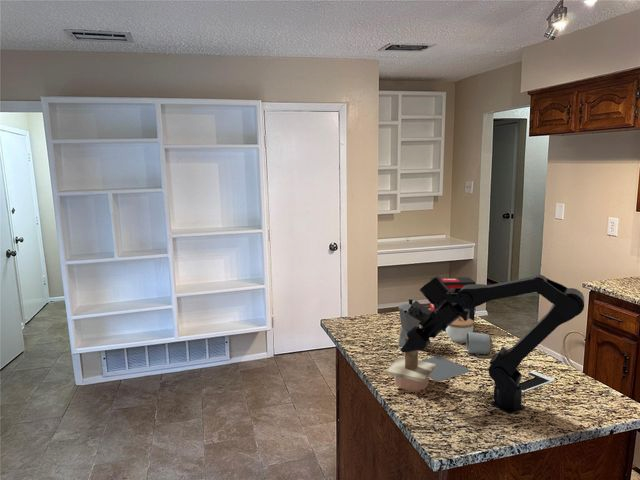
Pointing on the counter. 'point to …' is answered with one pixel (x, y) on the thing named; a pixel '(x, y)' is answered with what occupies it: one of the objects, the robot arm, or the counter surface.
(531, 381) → the cell phone
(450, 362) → the rubber mat
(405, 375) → the square lid with knob
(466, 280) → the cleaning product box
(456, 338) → the lidded jar
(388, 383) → the counter surface
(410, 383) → the terracotta bowl
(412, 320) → the coffeepot
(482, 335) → the ceramic mug
